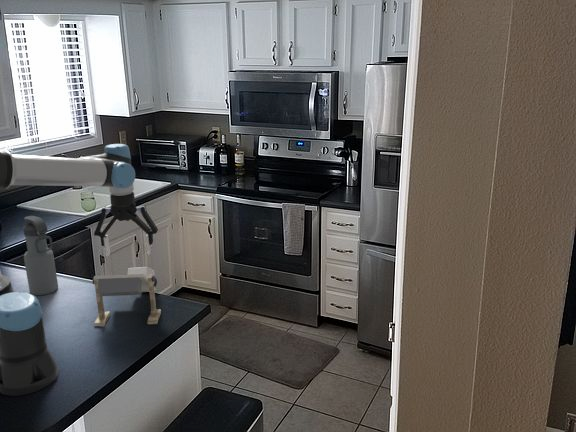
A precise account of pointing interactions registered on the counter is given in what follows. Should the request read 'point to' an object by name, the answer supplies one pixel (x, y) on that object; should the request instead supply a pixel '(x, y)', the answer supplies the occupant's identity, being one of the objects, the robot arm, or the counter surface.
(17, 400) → the counter surface
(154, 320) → the flap stand
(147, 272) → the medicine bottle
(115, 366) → the counter surface
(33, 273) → the water bottle
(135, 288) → the trapdoor flap
